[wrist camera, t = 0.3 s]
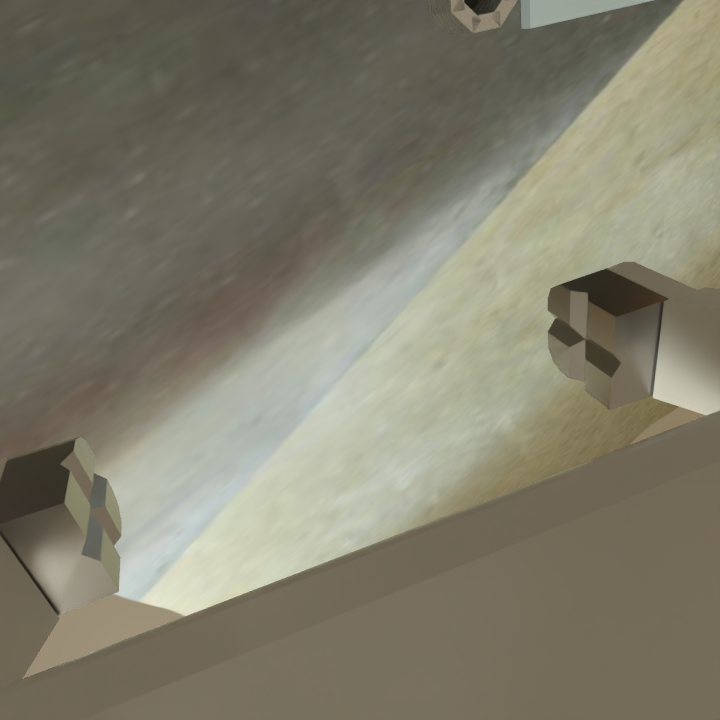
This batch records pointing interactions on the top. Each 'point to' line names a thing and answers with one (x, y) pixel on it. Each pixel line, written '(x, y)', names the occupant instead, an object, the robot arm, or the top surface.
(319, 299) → the top surface
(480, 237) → the top surface
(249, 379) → the top surface
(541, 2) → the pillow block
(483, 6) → the ring
